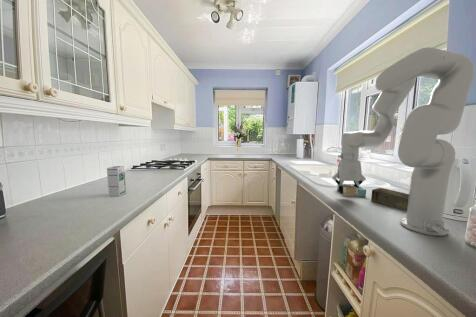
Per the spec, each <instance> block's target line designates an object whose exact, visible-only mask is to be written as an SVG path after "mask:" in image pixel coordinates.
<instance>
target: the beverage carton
mask: <svg viewBox="0 0 476 317" xmlns="http://www.w3.org/2000/svg"><path fill="white" fill-rule="evenodd" d="M408 199H409V193H405V192H401V191H396V190H393V189H387V188H383V187H378V188H375V189H372V190H371V198H370V201H371V202H373V203H378V204H382V205H385V206H388V207H393V208H396V209H399V210H403V211H406V212H407V207H408Z"/></svg>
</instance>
